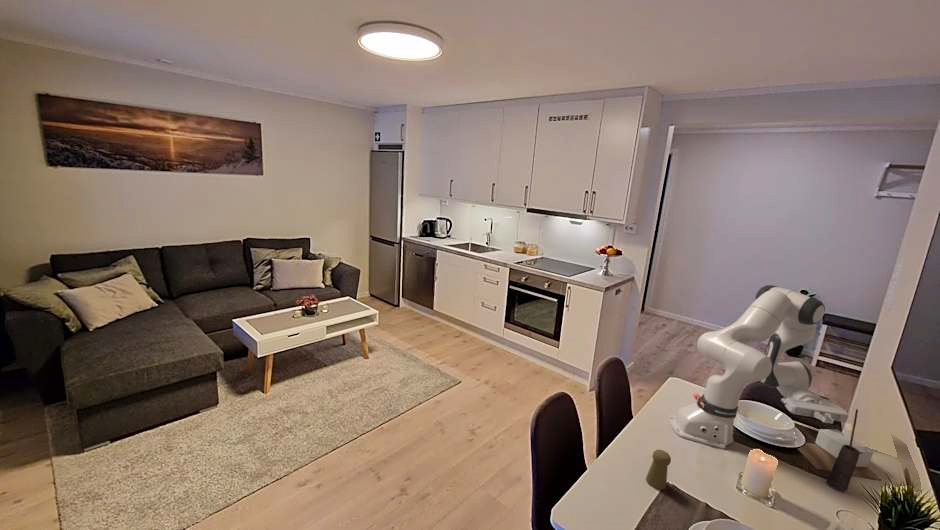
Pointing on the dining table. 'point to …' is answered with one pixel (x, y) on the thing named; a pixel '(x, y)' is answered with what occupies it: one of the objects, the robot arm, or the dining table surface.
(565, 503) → the dining table surface
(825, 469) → the walnut mat
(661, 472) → the olive pepper mill
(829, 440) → the small box
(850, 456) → the butter churn
